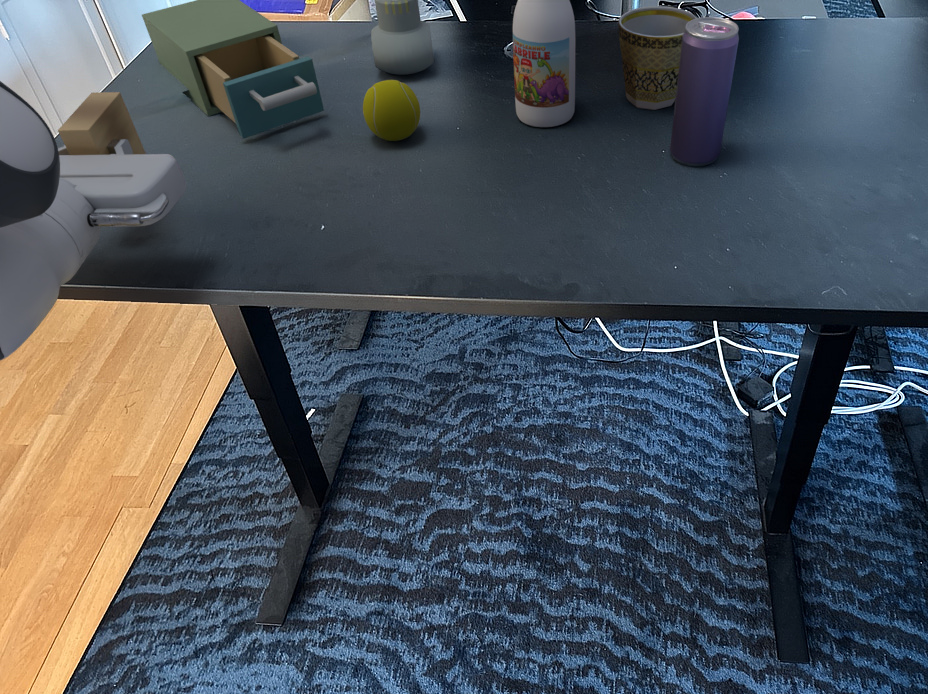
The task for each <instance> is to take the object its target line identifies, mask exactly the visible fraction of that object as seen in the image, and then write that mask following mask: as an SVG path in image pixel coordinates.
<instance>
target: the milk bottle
mask: <svg viewBox="0 0 928 694" xmlns="http://www.w3.org/2000/svg"><path fill="white" fill-rule="evenodd" d="M512 17H513V18H512V51H513V52H512V56H513V57H512V60H513V79H514V100H515V101H514V102H515V112H516V116H517V118H518V120H519V121H521V123H523V124H525V125H528V126H531V127H535V128H552V127H558V126H560V125H563V124H565V123H566V124H567V122H569V121H570V120H571V119H572V118H573V116H574V114H575V109H576V21H575V15H574V10H573V7H572V3H571V0H517V2H516V5H515V9H514V12H513V16H512Z"/></svg>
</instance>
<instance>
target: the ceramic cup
mask: <svg viewBox="0 0 928 694" xmlns="http://www.w3.org/2000/svg"><path fill="white" fill-rule="evenodd" d="M696 18H698V17H697V16H696V15H695V14H693V13H691V12H690V11H687V10H685V9H681V8H678V7H674V6H664V5H650V6H649V5H648V6H642V7H636V8H633V9H630V10H628V11H626V12H624V13H623V14H621V15H620V16H619V18H618V21H617V24H618V25H617V27H618V40H619V49H620V54H621V61H622V62H621V63H622V72H623V80H624V91H625V98H626V99H627V101H628V102H630V103H631V104H632V105H633V106H634V107H636V108H637V109H645V110H653V111H655V110H659V109H663V108H667V107H671V106H673V104H675V100H676V91H677V82H678V73H679V64H680V55H681V46H682V37H683V34H684V32H685V27H686V24H687V23H688V22H689V21H691V20H693V19H696Z"/></svg>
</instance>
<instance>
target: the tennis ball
mask: <svg viewBox="0 0 928 694" xmlns="http://www.w3.org/2000/svg"><path fill="white" fill-rule="evenodd" d="M362 113H363V118H364V121H365V123H366V125H367V127H368V128H369V130H370V131H371V132H372V133H373V134H374V135H375V136H376V137H378V138H379V139H382V140H385V141H389V142H399V141H402V140H405V139H407V138H408V137H410V136H412V134H414V132H416V129H418V126H419V123H420V119H421V106H420V102H419V99H418V97H417V95H416V94H415V91H414V90H413V89H412V88H411V87H410V86H409V85H408V84H406V83H405V82H401V81H400V80H397V79H386V80H382V81H378V82H375V83H374V84H373V85H372V86H371V87H370V88H368V89H367V90H366V93H365V95H364V97H363V102H362Z"/></svg>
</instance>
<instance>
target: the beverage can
mask: <svg viewBox="0 0 928 694" xmlns="http://www.w3.org/2000/svg"><path fill="white" fill-rule="evenodd" d="M739 40H740V37H739V25H738V24H737V23H736V22H734V21H732V20H731V19H728V18H723V17H719V16H701V17H697V18H696V19H693V20H691V21H689V22H688V23H687V24H686V27H685V32H684V34H683V37H682V46H681V55H680V64H679V73H678V82H677V91H676V99H675V101H674V109H673V119H672V128H671V136H670V146H669V151H670V154H671V156H672V157H673V159H674V160H675V161H676V162H677V163H679V164H681V165H685V166H689V167H705V166H708V165H711V164H713V163H714V162H715V161H716V160H717V159H718V157H719V156H720V154H721V150H722V144H723V138H724V133H725V126H726V120H727V114H728V109H729V103H730V101H729V100H730V95H731V90H732V83H733V77H734V71H735V66H736V59H737V52H738V46H739Z"/></svg>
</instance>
